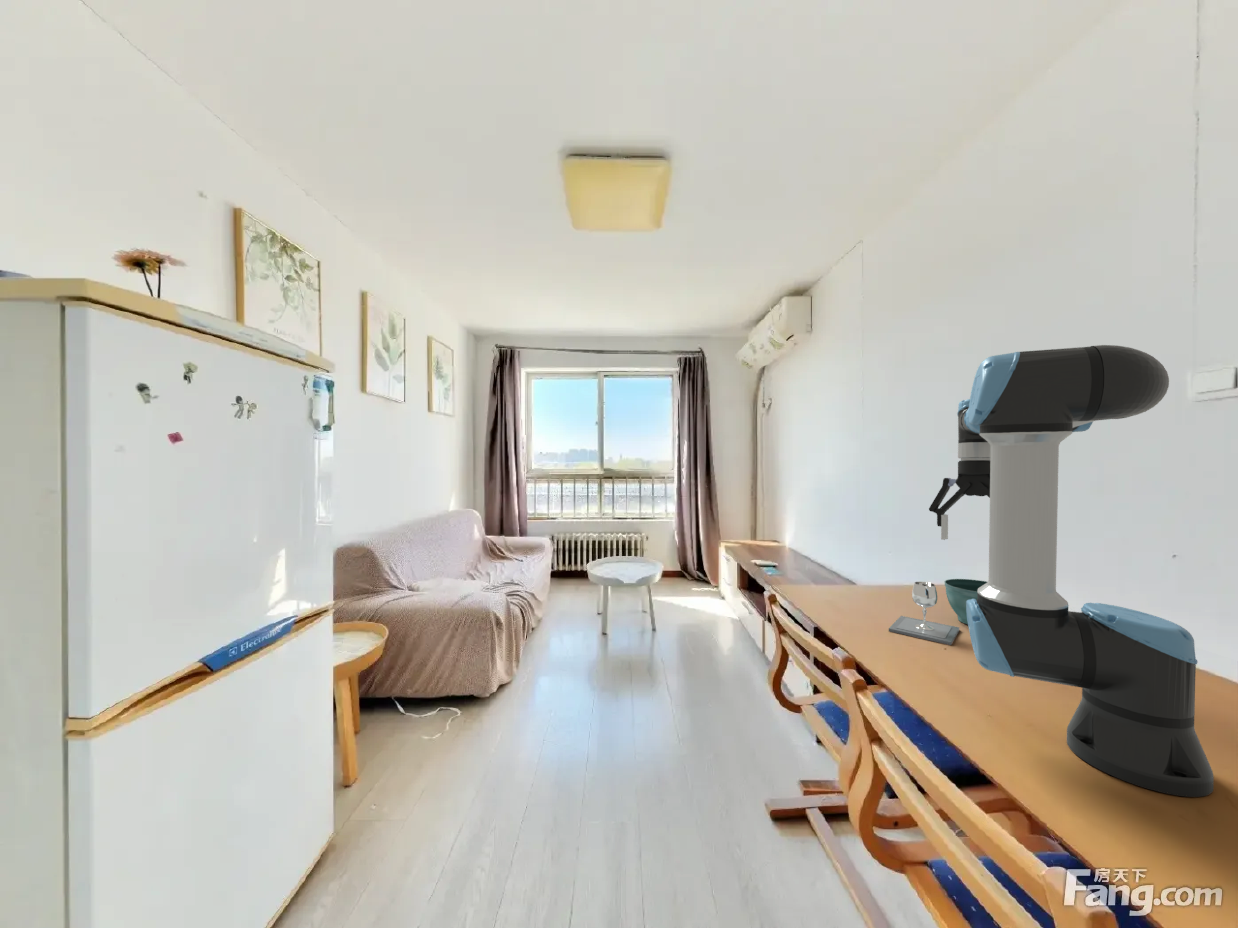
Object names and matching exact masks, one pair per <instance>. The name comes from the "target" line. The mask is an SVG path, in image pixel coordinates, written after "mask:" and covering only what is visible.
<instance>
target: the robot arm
mask: <svg viewBox="0 0 1238 928" xmlns="http://www.w3.org/2000/svg"><path fill="white" fill-rule="evenodd" d="M974 375H975V376H974V377H973V378H974V379H973V383H972V387H971V392H970V397H969V398H967V399H963V400H961V401H959V403H958V409H957V410H958V411H957V413H956V414H957V417H958V418H957V420H958V421H957V423H958V424H957V427H958V428H957V429H958V430H957V431H958V435H957V436H958V439H957V441H958V442H957V443H958V444H957V458H958V459H960V460H959V461H957V478H950V477H944V478H943V479H942V486H941V487H940V489H939V490H938V492H937V494H936V496H935V498H934V499H933V501H932V503H931V504H930V506H929V508H928V511H929V512H932V513H934V514H935V515H936V525H937V527H940V529H941V530H940V533H941V534H940V539H941V540H944V541H945V540H948V539H949V514H946V512H947V511H948V510H949V509H950V508H952V506H954V505H955V504H956V503H957V502H958V501H959V500H960V499H962V497H964V496H965V495H966V496H969V497H972V496H973V497H974V496H976V497H985V496H986V497H988V498H989V524H988V525H989V527H988V529H989V530H988V531H989V533H988V534H989V535H988V536H989V538H988V581H987V583H986V584H984V585H983V586H981V587H979V588H978V591H977V600H976V599H970V600H967V601H966V613H967V621H968V624H967V626H968V631H969V632H968V633H969V637H970V642H971V645H972V649H973V653H974V656H975V658H976V660H977V661H976V662H977V663H978V664H979V666H981V667H982V668H983V669H985V670H987V671H991V672H993V673H999V674H1004V675H1007V676H1010V677H1012V678H1014V677H1018V678H1023V679H1028V680H1029V679H1030V680H1035V681H1040V682H1045V683H1046V682H1048V683H1053V684H1058V685H1064V686H1069V687H1075V688H1081V690H1082V691H1081V700H1080V702H1079V703H1078V706H1077V708H1076V710H1075V711H1074V713H1073V715H1072V718H1071V719H1070V721H1069V723H1068V725H1067V727H1066V745H1067V746H1068V748H1069V749H1070V750H1071V751H1072V753H1074V754H1075V755H1076V756H1077V757H1078V758H1080V759H1081V760H1083V761H1084V762H1086V763H1087V764H1089V765H1091V766H1092V767H1094V768H1096V769H1098V770H1100V771H1101V772H1104V773H1105V774H1108V775H1110V776H1112V777H1114V778H1117V779H1118V780H1121V781H1124V782H1126V783H1130V784H1132V785H1134V786H1135V785H1136V786H1139V787H1141V788H1144V789H1148V790H1151V791H1155V792H1159V793H1163V794H1167V795H1173V796H1178V797H1179V796H1180V797H1188V798H1200V797H1206V796H1208V795H1211V794H1212V793H1213V792H1214V773H1213V772H1214V771H1213V769H1212V767H1211V765H1210V763H1209V759H1208V758H1207V756H1206V753H1205V751H1204V748H1203V746H1202V744H1201V741H1200V739H1199V737H1198V735H1197V733H1196V729H1195V713H1196V711H1195V709H1196V705H1195V704H1196V702H1195V701H1196V672H1197V671H1196V669H1197V666H1196V665H1198V659H1197V658H1196V649H1195V639H1194V637H1193V635H1192V633H1190V631H1188V630H1187V629H1186V628H1184V627H1183V626H1181V625H1179V624H1178V623H1175V622H1173V621H1170V620H1168V619H1166V618H1162V617H1159V616H1156V615H1153V614H1150V613H1147V612H1144V611H1139V610H1135V609H1131V608H1127V607H1124V606H1123V607H1122V606H1120V605H1119V606H1118V605H1114V604H1113V605H1112V604H1109V603H1102V602H1086V603H1083V605H1082V607H1081V608H1080V609H1081V612H1077V611H1071V610H1070V611H1069V602H1068V601H1067V599H1065V598H1064V597H1063V596H1062V595H1061V594H1060V593H1059V592H1058V591H1057V553H1058V552H1057V549H1058V548H1057V546H1058V503H1059V500H1058V499H1059V496H1058V495H1059V494H1058V493H1059V487H1058V486H1059V457H1060V456H1059V452H1060V451H1059V448H1060V447H1059V446H1060V445H1061V443H1062V442H1063V441H1064V440H1066V439H1067V438H1068V437H1069V436H1071V435H1072V434H1073V433H1076V432H1077V433H1078V432H1080V433H1081V432H1086V431H1088V430H1089V429H1090V428H1091V426H1092V425H1093V423H1094V422H1096V421H1105V420H1106V421H1107V420H1119V419H1127V418H1130V417H1133V416H1137V415H1140V414H1143V413H1146V412H1147V411H1149V410H1151V409H1153V408H1154V407H1156V405H1158V404H1159V403H1160V402H1161V401H1162V400H1163V399H1164V397H1165V396H1166V394H1167V392H1168V390H1169V387H1170V378H1169V374H1168V371H1167V369H1166V368H1165V366H1164V365H1163V364H1162V363H1161V362H1160V361H1159V360H1158V359H1156V357H1154V355H1151V354H1149V353H1147V352H1146V351H1142V350H1139V349H1136V348H1133V347H1129V346H1124V345H1123V346H1122V345H1113V344H1112V345H1110V344H1109V345H1108V344H1101V345H1100V344H1099V345H1098V344H1097V345H1091V346H1083V347H1082V346H1081V347H1080V346H1079V347H1078V346H1077V347H1067V348H1053V349H1052V348H1051V349H1039V350H1025V351H1023V350H1022V351H1015V352H1010V353H1009V352H1008V353H1003V354H996V355H990V356H988V357H986V358H985V359H984V360H983V361H981V363H980V364H979V365H978V367H977V370H976V372H975V374H974ZM955 484H956V486H957V487H958V490H956V492H955V493H953V495H952V496H951V497H949V499H948V500H947V501H945V502H944V504H942V505H941V503H943V501H944V499H945V497H946V495H947V494H948V492H949V491H950V489H951V487H954V485H955Z"/></svg>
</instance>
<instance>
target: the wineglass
mask: <svg viewBox="0 0 1238 928" xmlns="http://www.w3.org/2000/svg"><path fill="white" fill-rule="evenodd" d="M911 595H912V601H913V602H914V603H915V604H916V605H918V606H919V607H920V608H921V607H922V614H923V619H922V620H923V624H917V625H915V627H916V628H918V629H922V630H928V631H931V630H934V628H933V627H931V626H928V625H927V624H926V621H927V620H926V615H927V612H928V611H927V608H932V607H934V606H936V604H937V602H938V591H937V587H936V585H935V583H932V582H928V581H915V582H914V584H913V586H912V591H911Z"/></svg>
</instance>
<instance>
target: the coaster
mask: <svg viewBox="0 0 1238 928" xmlns="http://www.w3.org/2000/svg"><path fill="white" fill-rule="evenodd" d="M923 620H924V619H920V618H915V617H910V616H905V615H900V616H899V617H898V618H897V619H896V620H895V621H893V623H892V624H891V626H890V627H888V632H890V633H895V634H899V635H902V636H908V637H913V638H918V639H922V640H925V641H931V642H934V643H938V644H939V643H940V644H944V645H949V646H952V644H953V642H954V641H955V640H956V638H957V635H958V634H959V632H960V626H959V627H958V626H956V625H955V626H954V625H949V624H946V623H939V622H936V621H935V622H934V621H930V620H925V621H926V624H927V625H928V626H931V627H933V628H934V630H931V631H928V630H922V629H918V628H916V627H915V625H917V624H923Z"/></svg>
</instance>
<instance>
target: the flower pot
mask: <svg viewBox="0 0 1238 928" xmlns="http://www.w3.org/2000/svg"><path fill="white" fill-rule="evenodd" d="M987 582H988V581H985V580H980V579H979V580H978V579H972V578H971V579H969V578H951V579H945V580H944V586H945V587H944V588H945V594H946V599H947V601H948V604H949V605H950V607H951V609H952V610H953V612H954V613H955V614H956V615H957V620H958V621H959V622H960V623H963V624H966V625H968V621H967V613H966V601H967V600H970V599H976V600H977V591H978V588H979V587H981V586H983V585H984V584H986V583H987Z"/></svg>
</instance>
